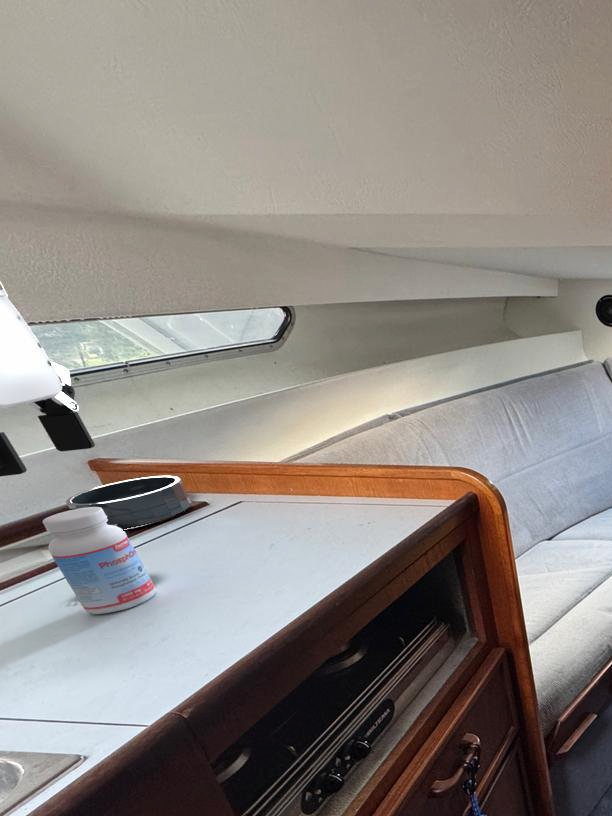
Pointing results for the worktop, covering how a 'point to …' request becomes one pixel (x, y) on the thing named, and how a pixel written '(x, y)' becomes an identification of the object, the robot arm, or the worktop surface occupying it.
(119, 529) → the pill bottle
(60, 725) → the worktop surface
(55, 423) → the robot arm
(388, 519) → the worktop surface
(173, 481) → the bowl
